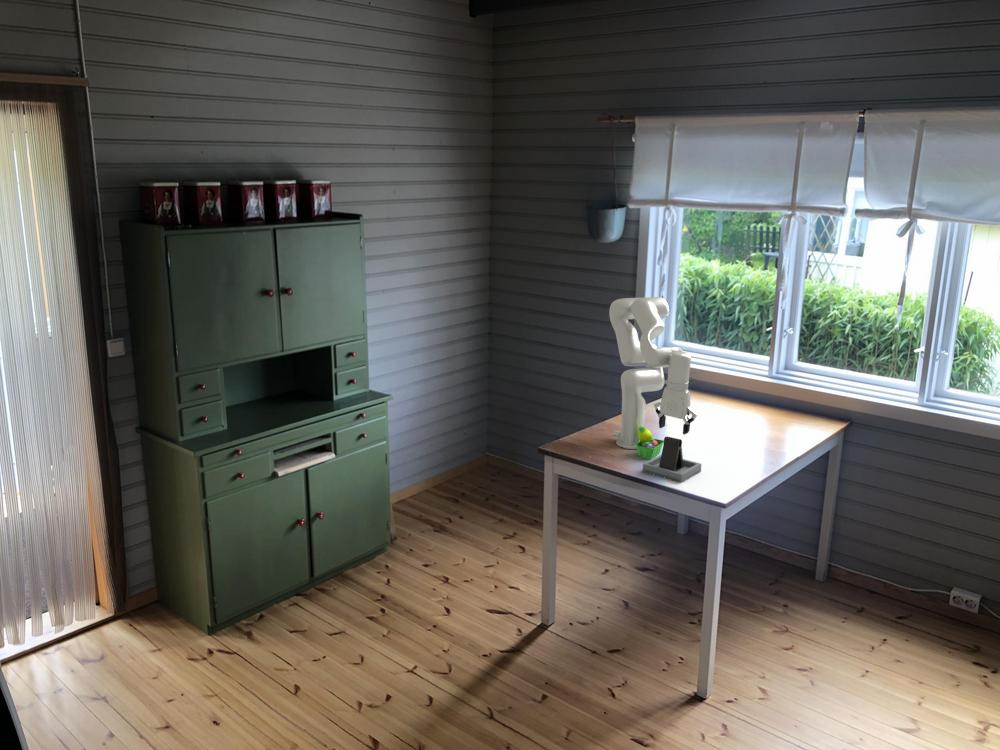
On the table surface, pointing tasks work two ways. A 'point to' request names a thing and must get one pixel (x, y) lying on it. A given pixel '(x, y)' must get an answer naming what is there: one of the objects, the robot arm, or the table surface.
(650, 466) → the tray
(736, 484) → the table surface
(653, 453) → the fruit basket
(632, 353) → the robot arm
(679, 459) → the phone stand
